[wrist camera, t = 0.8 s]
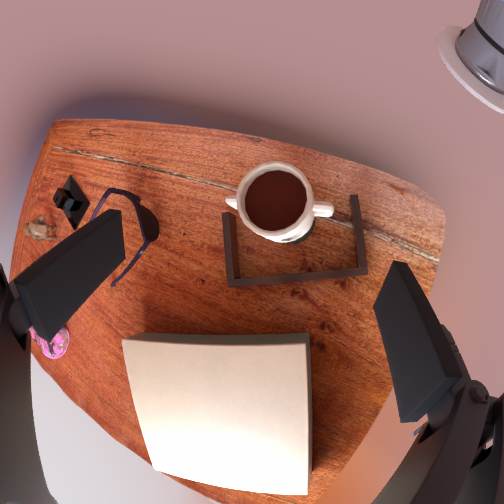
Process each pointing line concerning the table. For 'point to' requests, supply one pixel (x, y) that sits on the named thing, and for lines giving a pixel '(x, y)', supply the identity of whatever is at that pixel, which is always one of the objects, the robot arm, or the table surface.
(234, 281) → the dark brown u-shaped bracket
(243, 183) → the character mug
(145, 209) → the sunglasses
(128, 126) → the table surface
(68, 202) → the build plate
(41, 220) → the lion figurine
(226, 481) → the cream square platform
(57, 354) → the pencil case
